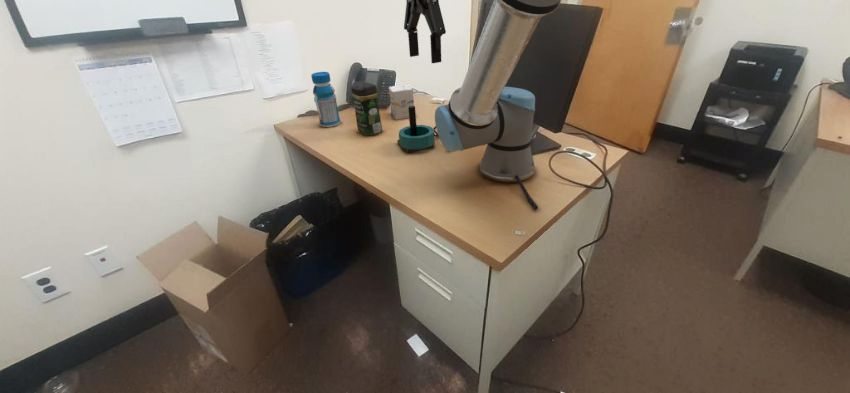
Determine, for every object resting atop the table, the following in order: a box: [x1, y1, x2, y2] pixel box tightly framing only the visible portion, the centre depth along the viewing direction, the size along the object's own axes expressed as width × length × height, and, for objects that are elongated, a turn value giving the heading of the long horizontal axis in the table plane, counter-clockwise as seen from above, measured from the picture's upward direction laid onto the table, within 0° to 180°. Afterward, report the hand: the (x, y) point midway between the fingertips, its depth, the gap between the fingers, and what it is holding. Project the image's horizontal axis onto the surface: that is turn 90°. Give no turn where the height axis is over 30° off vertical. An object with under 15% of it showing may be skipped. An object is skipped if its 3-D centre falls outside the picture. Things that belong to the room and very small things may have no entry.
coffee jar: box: [350, 80, 383, 137], centre depth 127 cm, size 10×8×19 cm
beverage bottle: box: [311, 71, 341, 128], centre depth 137 cm, size 8×8×20 cm
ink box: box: [388, 83, 415, 121], centre depth 143 cm, size 9×8×12 cm
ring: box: [398, 124, 436, 150], centre depth 116 cm, size 12×12×4 cm
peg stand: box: [396, 105, 433, 154], centre depth 116 cm, size 9×9×14 cm
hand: (424, 59), depth 100 cm, fingers open, 13 cm apart
